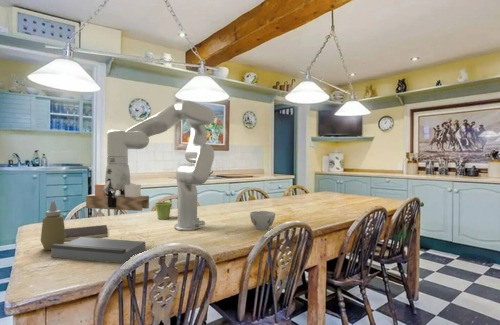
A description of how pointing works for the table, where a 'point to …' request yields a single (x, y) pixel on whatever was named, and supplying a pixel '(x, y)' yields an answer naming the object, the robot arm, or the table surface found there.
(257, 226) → the teacup
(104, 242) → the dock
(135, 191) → the white cube
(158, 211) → the plant pot
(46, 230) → the squeeze bottle
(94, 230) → the hardcover book
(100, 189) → the salmon pink cube
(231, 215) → the table surface
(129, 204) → the wooden beam
